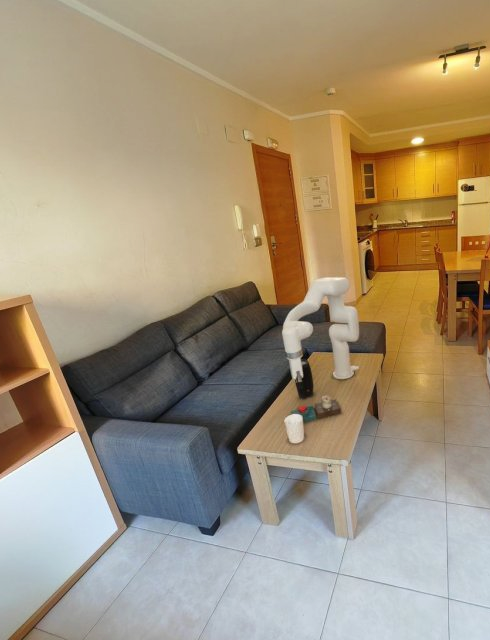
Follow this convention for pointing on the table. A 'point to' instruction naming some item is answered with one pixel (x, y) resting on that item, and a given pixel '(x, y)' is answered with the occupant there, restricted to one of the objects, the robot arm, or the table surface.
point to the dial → (326, 401)
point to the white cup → (294, 428)
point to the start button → (302, 409)
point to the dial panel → (327, 409)
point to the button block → (306, 414)
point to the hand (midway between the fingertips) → (300, 388)
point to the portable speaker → (306, 380)
